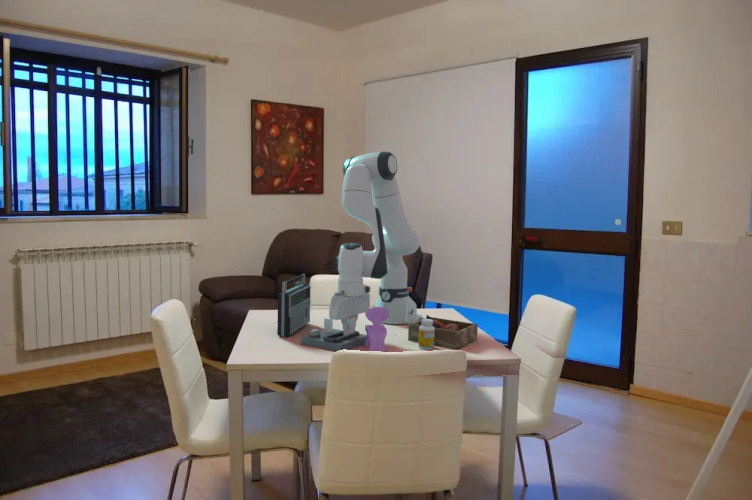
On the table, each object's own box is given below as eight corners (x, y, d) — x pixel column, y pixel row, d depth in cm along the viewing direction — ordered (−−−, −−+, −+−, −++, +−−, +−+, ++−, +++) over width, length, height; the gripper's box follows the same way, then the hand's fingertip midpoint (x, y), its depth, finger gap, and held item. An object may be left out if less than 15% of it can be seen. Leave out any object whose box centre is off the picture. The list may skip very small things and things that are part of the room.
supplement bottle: (417, 345, 212) (418, 318, 211) (432, 345, 212) (433, 318, 211) (419, 349, 206) (420, 321, 205) (435, 349, 207) (436, 321, 206)
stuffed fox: (418, 318, 222) (444, 312, 229) (429, 346, 218) (455, 340, 225) (429, 310, 217) (454, 305, 223) (440, 339, 213) (466, 333, 219)
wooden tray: (428, 332, 232) (429, 316, 232) (477, 340, 222) (477, 324, 221) (408, 340, 219) (408, 323, 218) (458, 349, 208) (459, 332, 208)
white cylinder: (347, 333, 215) (348, 314, 214) (355, 335, 213) (355, 315, 213) (343, 335, 213) (343, 315, 212) (350, 336, 211) (351, 317, 210)
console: (330, 334, 223) (330, 314, 223) (368, 342, 214) (369, 321, 213) (301, 344, 209) (301, 322, 208) (340, 352, 200) (341, 330, 199)
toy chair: (385, 345, 211) (386, 302, 210) (389, 351, 203) (391, 307, 201) (361, 345, 210) (362, 302, 208) (365, 352, 201) (366, 308, 200)
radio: (291, 338, 217) (292, 283, 215) (277, 336, 218) (278, 282, 216) (311, 323, 241) (312, 274, 239) (299, 322, 242) (300, 273, 240)
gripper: (340, 294, 201) (339, 335, 202) (373, 286, 218) (372, 324, 220) (325, 292, 204) (324, 332, 206) (358, 284, 222) (357, 321, 223)
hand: (349, 328), depth 213 cm, fingers closed on white cylinder, 3 cm apart
